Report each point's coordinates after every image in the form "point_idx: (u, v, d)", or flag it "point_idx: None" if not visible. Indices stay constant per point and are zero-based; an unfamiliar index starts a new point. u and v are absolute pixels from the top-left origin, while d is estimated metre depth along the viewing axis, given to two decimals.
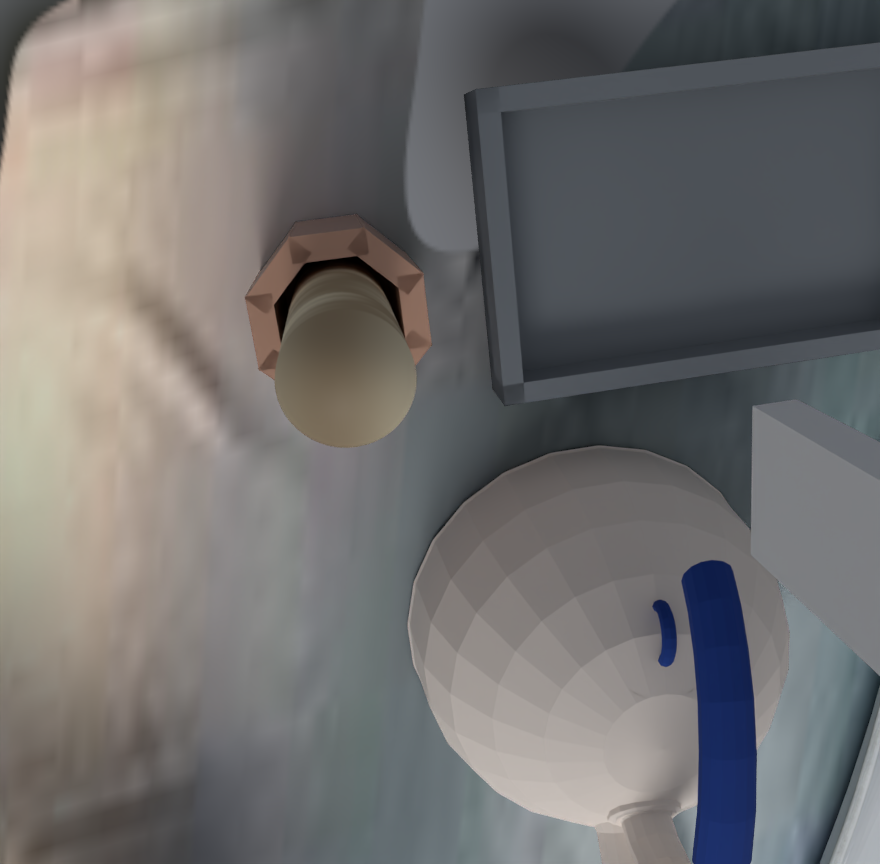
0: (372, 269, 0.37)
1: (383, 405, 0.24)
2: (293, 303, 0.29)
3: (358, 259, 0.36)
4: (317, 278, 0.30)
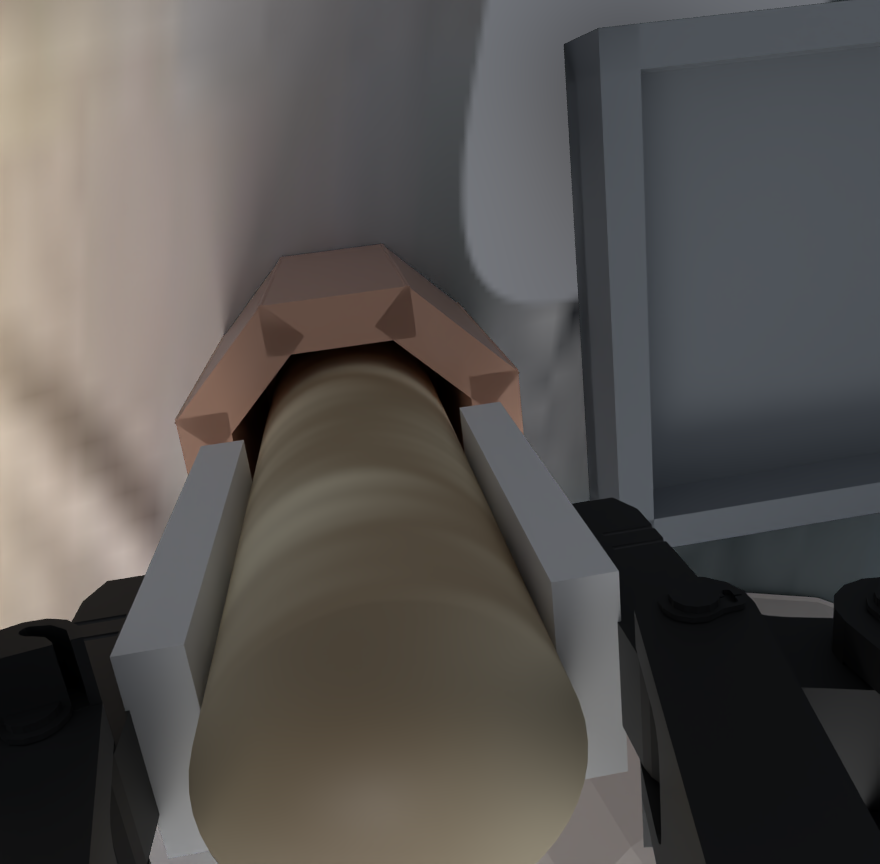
0: None
1: (493, 827, 0.09)
2: (266, 449, 0.14)
3: None
4: (315, 391, 0.15)
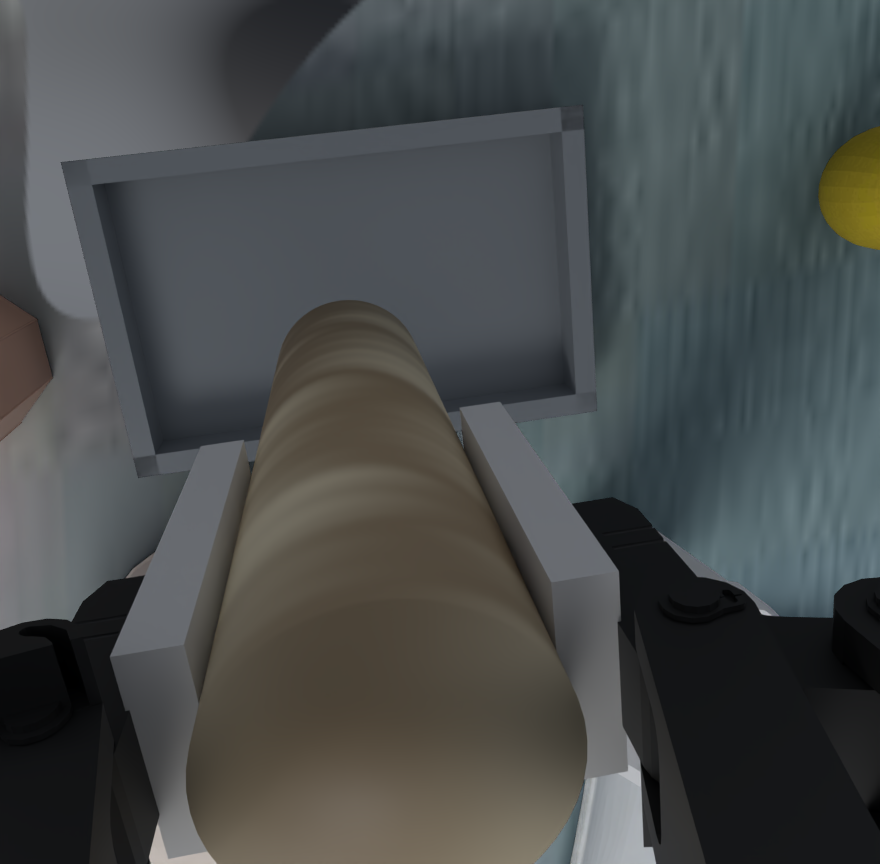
0: (408, 333, 0.22)
1: (491, 826, 0.09)
2: (264, 445, 0.14)
3: (386, 319, 0.21)
4: (314, 387, 0.15)
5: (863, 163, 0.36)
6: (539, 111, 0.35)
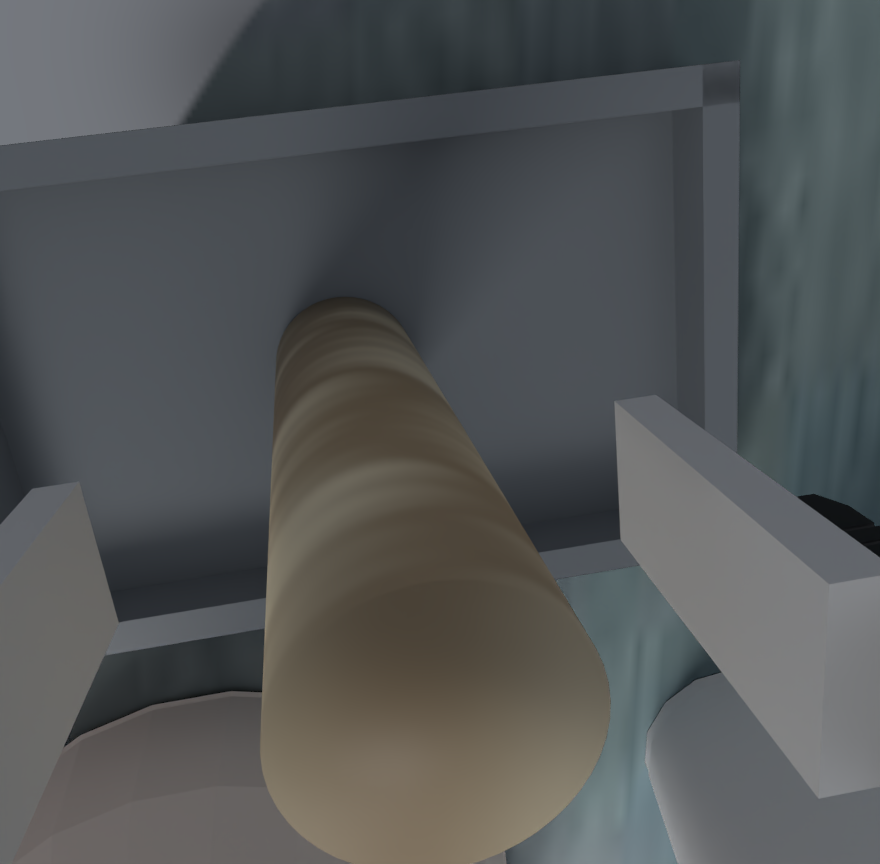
0: None
1: (526, 778, 0.10)
2: (286, 440, 0.15)
3: (383, 316, 0.22)
4: (330, 384, 0.16)
5: None
6: (667, 72, 0.21)
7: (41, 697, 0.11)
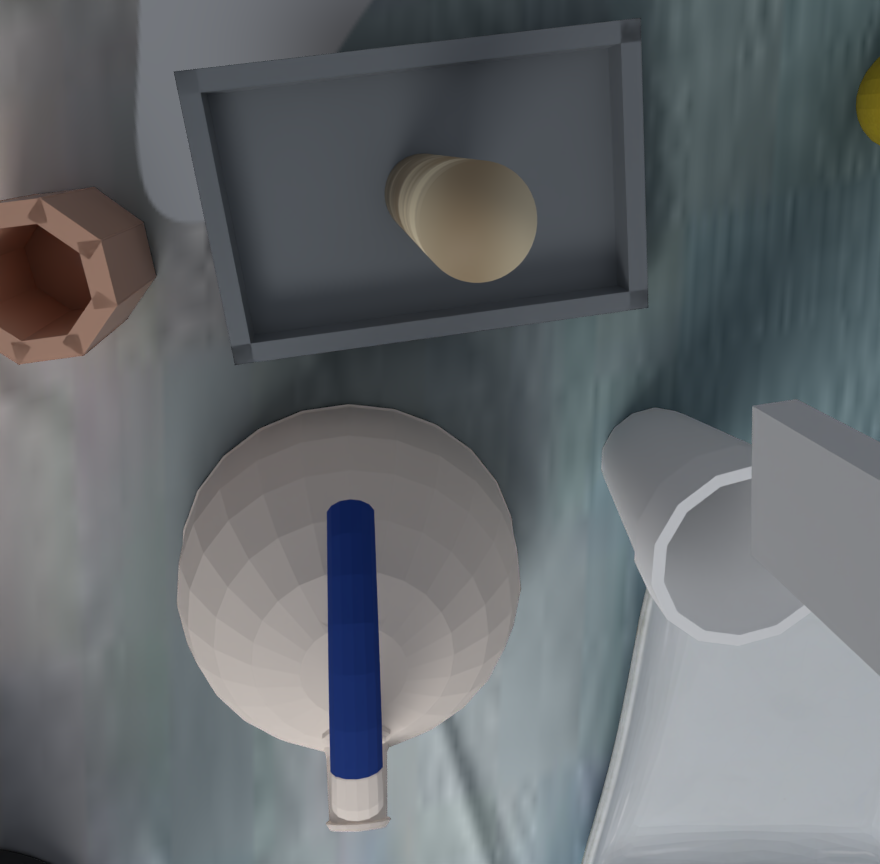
0: None
1: (508, 245, 0.28)
2: (408, 179, 0.33)
3: None
4: (427, 160, 0.34)
5: None
6: (601, 24, 0.39)
7: None
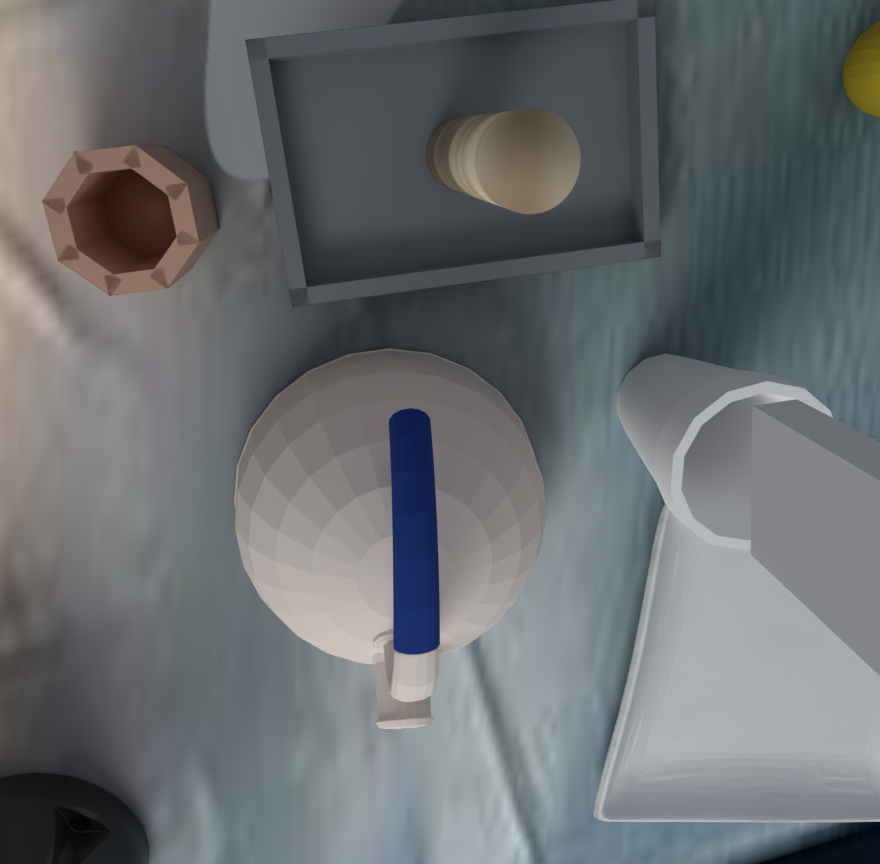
0: None
1: (556, 182, 0.33)
2: (460, 133, 0.38)
3: None
4: (474, 117, 0.39)
5: (879, 41, 0.45)
6: (620, 1, 0.44)
7: None
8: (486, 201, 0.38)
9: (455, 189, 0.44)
